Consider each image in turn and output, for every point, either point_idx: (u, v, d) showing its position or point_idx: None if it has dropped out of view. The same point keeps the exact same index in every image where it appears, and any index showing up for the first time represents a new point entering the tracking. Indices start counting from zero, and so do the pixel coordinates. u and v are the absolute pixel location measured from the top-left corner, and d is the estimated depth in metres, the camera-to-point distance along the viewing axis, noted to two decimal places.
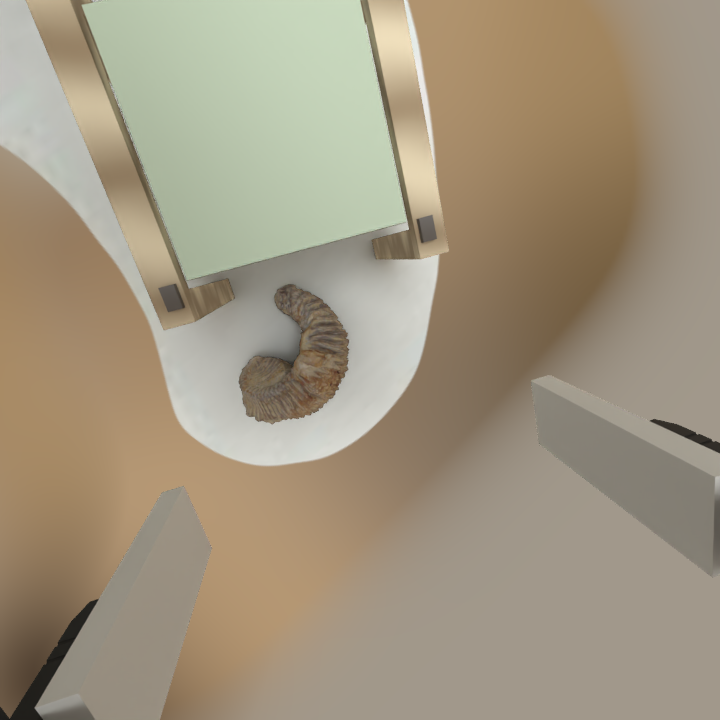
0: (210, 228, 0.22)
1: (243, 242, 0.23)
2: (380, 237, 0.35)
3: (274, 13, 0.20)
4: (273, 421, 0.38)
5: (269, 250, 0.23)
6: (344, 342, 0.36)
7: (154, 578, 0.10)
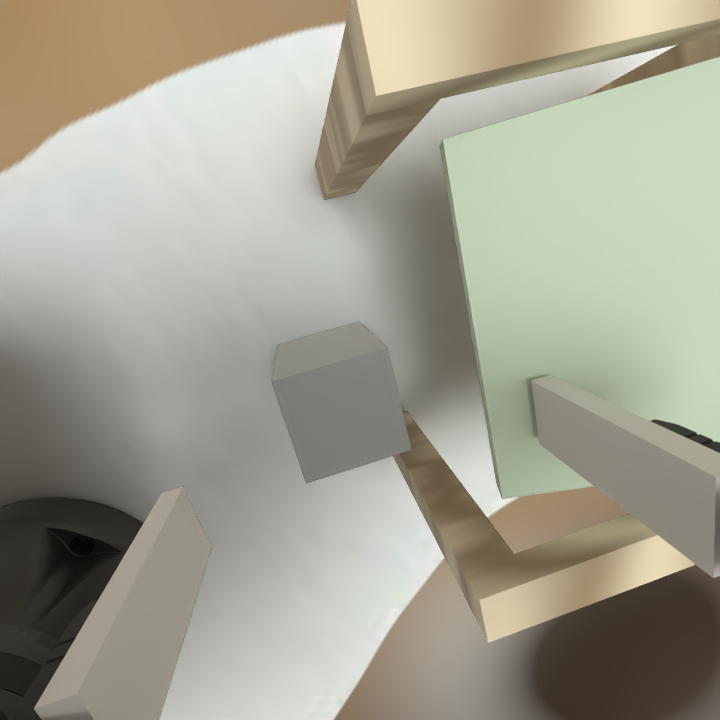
0: None
1: None
2: None
3: (525, 270, 0.13)
4: None
5: None
6: None
7: (154, 578, 0.10)
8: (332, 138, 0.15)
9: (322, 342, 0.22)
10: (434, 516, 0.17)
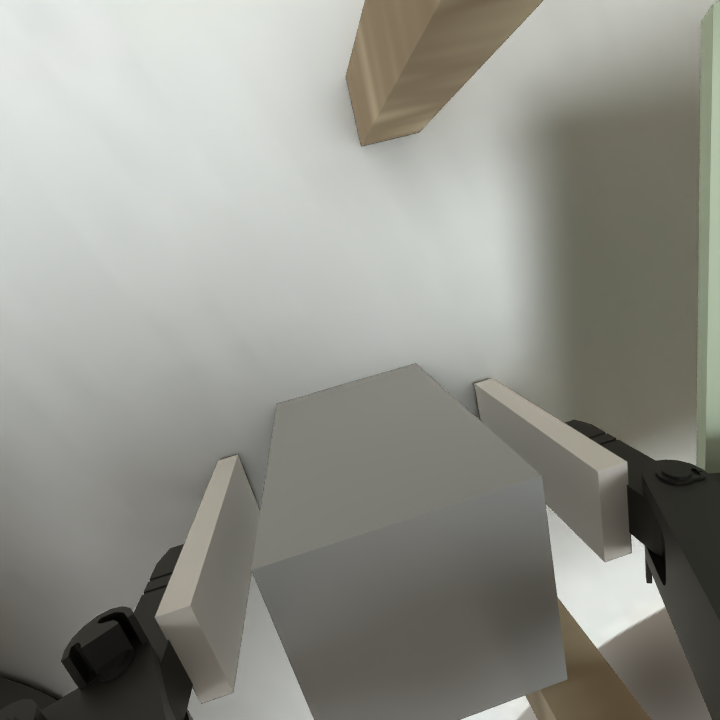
0: None
1: None
2: None
3: None
4: None
5: None
6: None
7: (226, 528, 0.11)
8: None
9: (359, 415, 0.11)
10: None
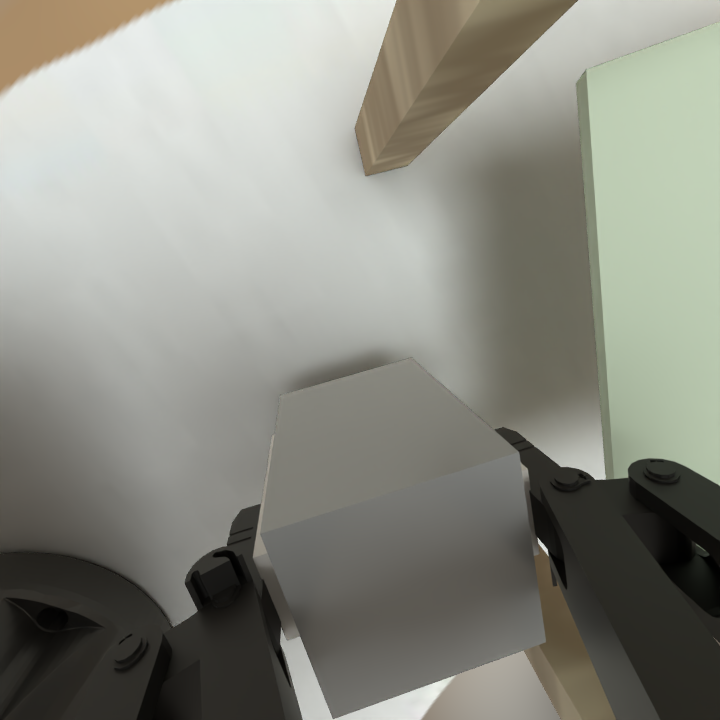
0: None
1: None
2: None
3: (699, 263, 0.09)
4: None
5: None
6: None
7: None
8: (400, 56, 0.09)
9: (357, 404, 0.12)
10: (540, 645, 0.11)
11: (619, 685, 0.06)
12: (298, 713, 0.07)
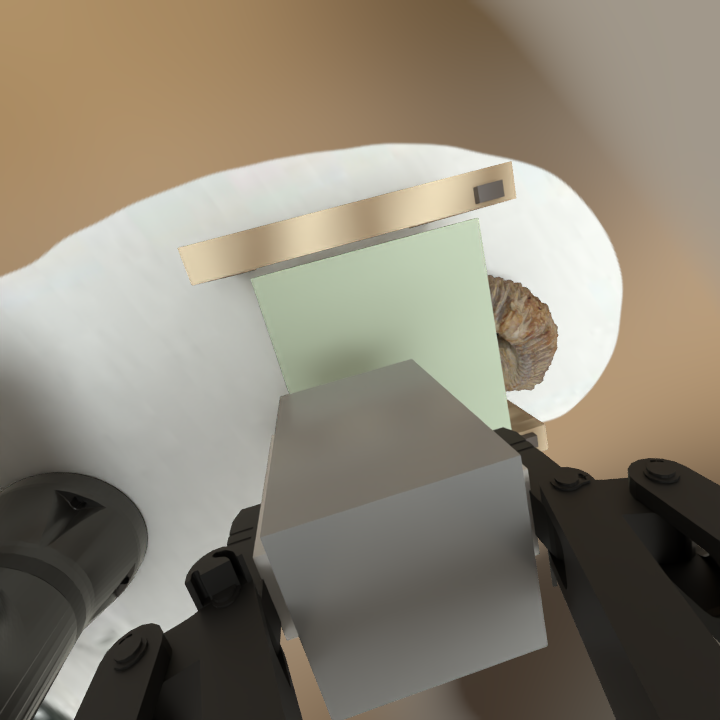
0: (469, 408, 0.25)
1: (484, 382, 0.25)
2: (424, 223, 0.32)
3: (303, 343, 0.25)
4: None
5: (493, 360, 0.24)
6: (497, 283, 0.34)
7: None
8: None
9: (358, 406, 0.12)
10: None
11: (619, 685, 0.06)
12: (298, 713, 0.07)
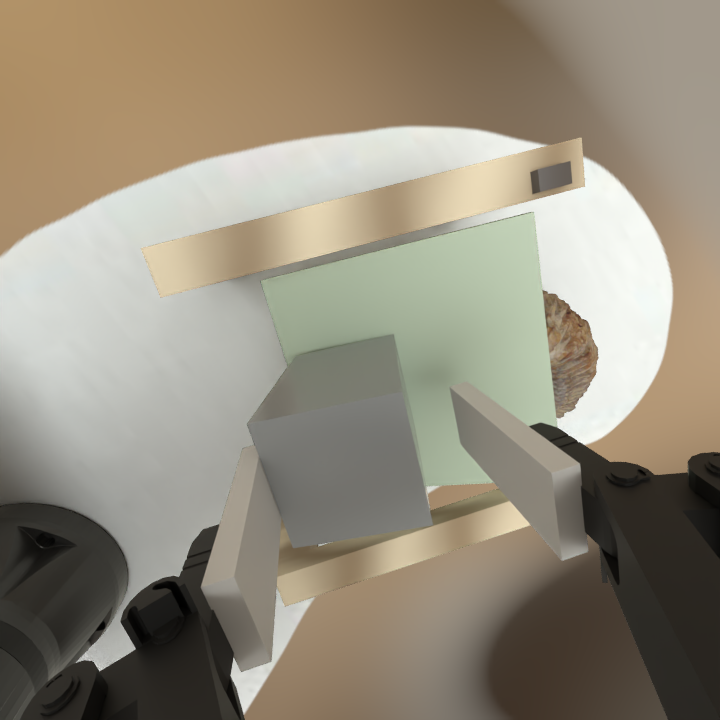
0: None
1: (530, 418, 0.20)
2: None
3: None
4: None
5: (543, 393, 0.19)
6: None
7: (257, 510, 0.12)
8: None
9: (337, 363, 0.18)
10: None
11: (673, 681, 0.06)
12: None
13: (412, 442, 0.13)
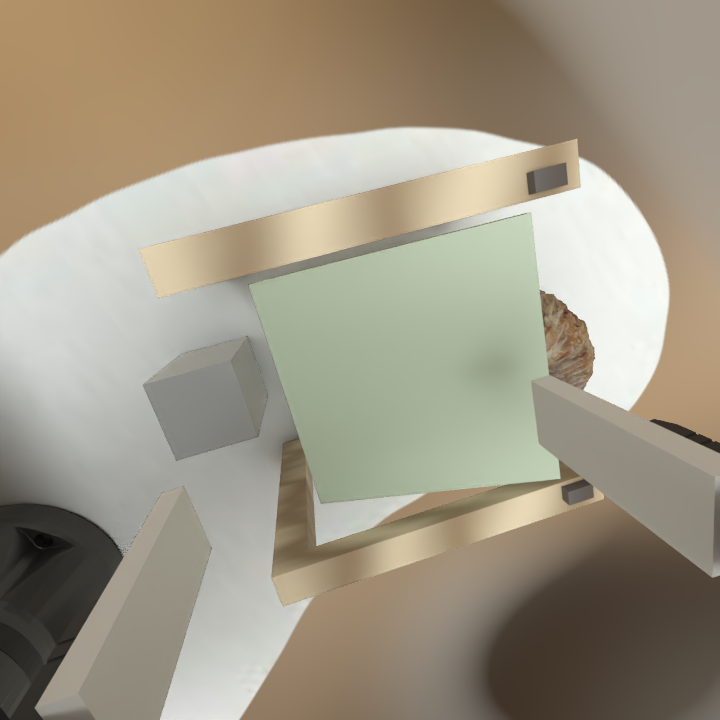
0: (507, 447, 0.21)
1: (528, 418, 0.20)
2: None
3: (309, 361, 0.21)
4: None
5: None
6: None
7: (154, 578, 0.10)
8: None
9: (199, 359, 0.27)
10: (276, 522, 0.24)
11: None
12: None
13: None
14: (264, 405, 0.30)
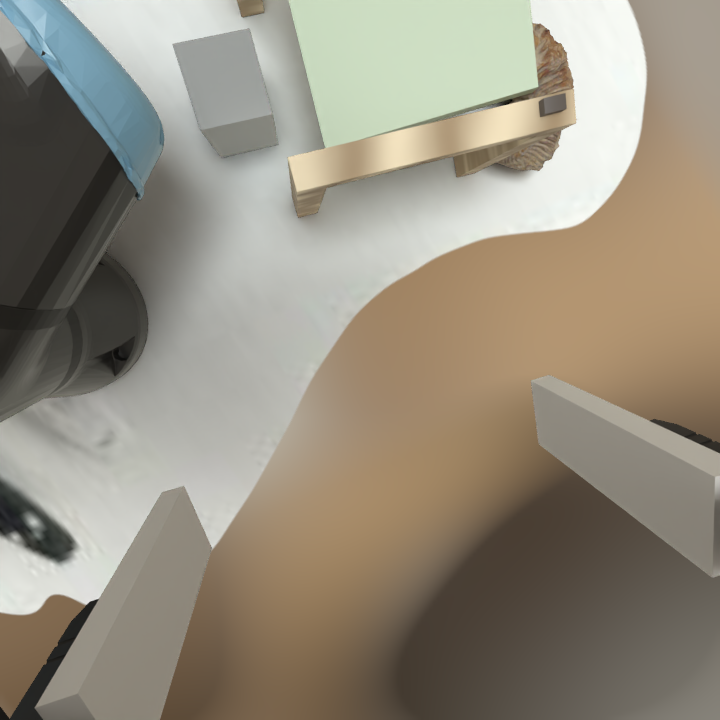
0: (493, 56, 0.24)
1: (510, 20, 0.23)
2: None
3: None
4: (557, 143, 0.36)
5: None
6: None
7: (154, 578, 0.10)
8: None
9: None
10: (289, 173, 0.27)
11: None
12: None
13: None
14: (276, 134, 0.34)
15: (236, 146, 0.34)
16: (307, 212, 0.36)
